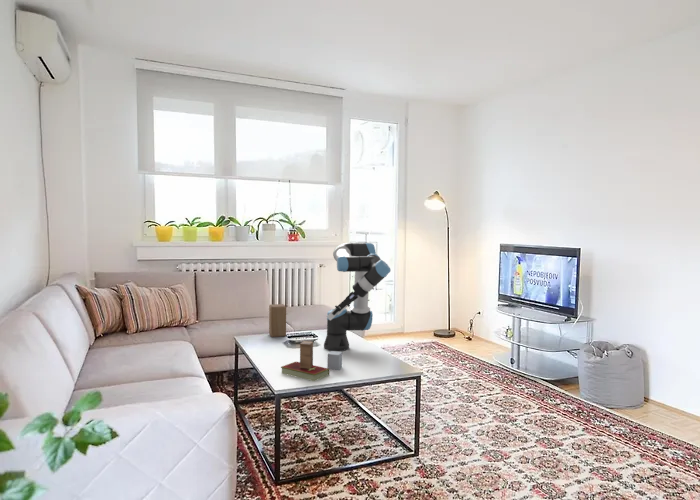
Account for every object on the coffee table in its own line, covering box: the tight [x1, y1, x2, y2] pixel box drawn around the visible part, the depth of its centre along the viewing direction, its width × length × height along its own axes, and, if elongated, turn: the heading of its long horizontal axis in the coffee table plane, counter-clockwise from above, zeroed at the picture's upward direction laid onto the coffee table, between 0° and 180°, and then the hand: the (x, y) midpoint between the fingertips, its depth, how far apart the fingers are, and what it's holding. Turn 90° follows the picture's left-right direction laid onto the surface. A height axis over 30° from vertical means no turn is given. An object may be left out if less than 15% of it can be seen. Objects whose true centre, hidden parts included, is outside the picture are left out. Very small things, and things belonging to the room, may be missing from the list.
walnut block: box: [299, 340, 314, 369], centre depth 236 cm, size 5×5×12 cm
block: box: [268, 303, 287, 338], centre depth 316 cm, size 10×10×20 cm
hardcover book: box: [280, 361, 330, 382], centre depth 236 cm, size 12×21×4 cm, turn 57°
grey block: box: [326, 350, 343, 371], centre depth 246 cm, size 6×6×8 cm
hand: (332, 315), depth 234 cm, fingers open, 13 cm apart
